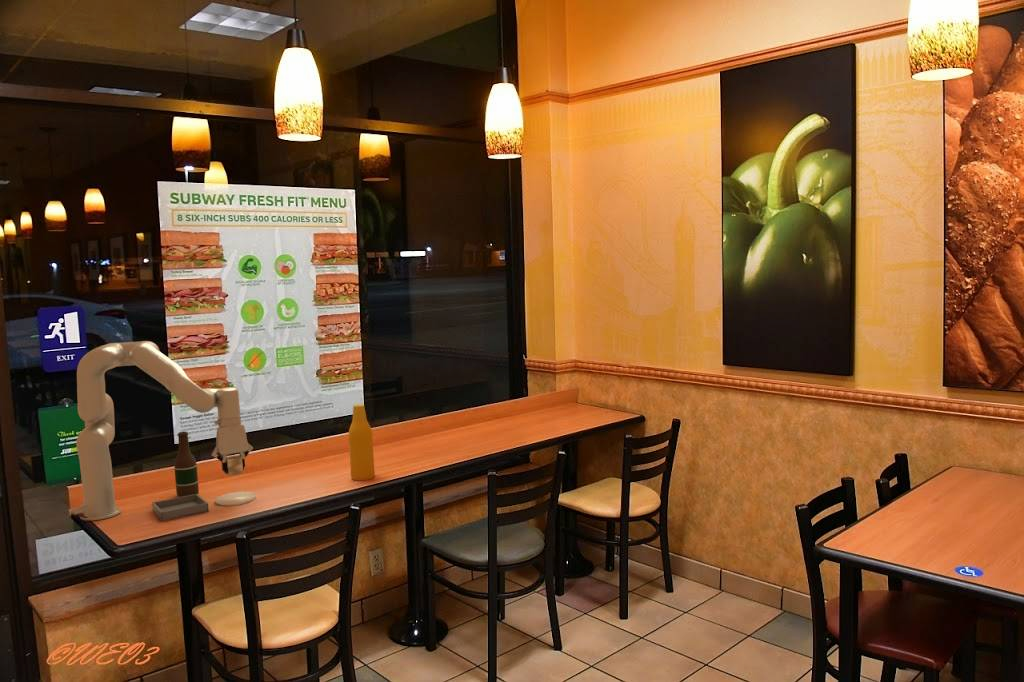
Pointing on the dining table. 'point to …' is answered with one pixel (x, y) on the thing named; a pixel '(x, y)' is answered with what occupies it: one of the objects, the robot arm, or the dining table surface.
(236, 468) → the birch block
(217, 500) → the off-white plate
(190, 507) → the gray bin
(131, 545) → the dining table surface
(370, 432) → the beer bottle
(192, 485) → the beer bottle
